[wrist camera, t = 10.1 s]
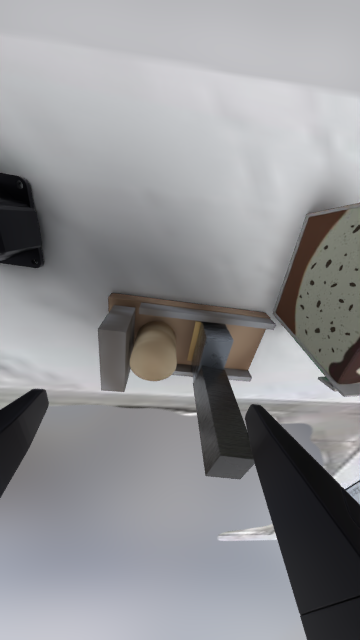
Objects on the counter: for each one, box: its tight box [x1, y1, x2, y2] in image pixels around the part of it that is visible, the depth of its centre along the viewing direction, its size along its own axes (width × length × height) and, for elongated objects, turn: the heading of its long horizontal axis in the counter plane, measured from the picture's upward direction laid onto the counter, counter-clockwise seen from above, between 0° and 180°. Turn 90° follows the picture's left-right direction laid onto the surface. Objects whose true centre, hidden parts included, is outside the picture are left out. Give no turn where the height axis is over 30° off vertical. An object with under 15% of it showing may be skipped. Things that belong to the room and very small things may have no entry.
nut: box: [130, 321, 177, 381], centre depth 18 cm, size 4×4×4 cm
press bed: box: [98, 293, 276, 392], centre depth 18 cm, size 16×8×6 cm, turn 81°
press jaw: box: [191, 321, 255, 479], centre depth 15 cm, size 3×6×10 cm, turn 171°
